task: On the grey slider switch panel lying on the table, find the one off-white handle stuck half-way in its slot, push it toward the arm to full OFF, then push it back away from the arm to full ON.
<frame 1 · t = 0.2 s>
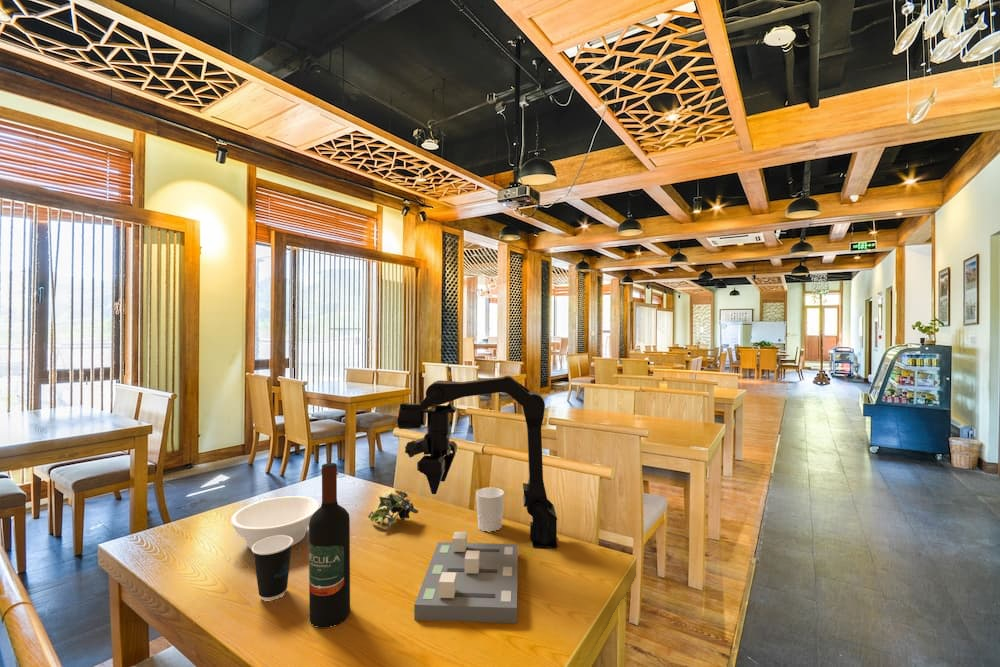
hand: (438, 487, 118), 14 cm above the table, tool pointing down, fingers open, 9 cm apart
breaker left: (447, 584, 90), point 5 cm above the table, slide at 4.0 cm
breaker right: (459, 541, 108), point 5 cm above the table, slide at 4.0 cm
green leafy clump: (393, 525, 128), on the table
grey slider switch panel: (472, 584, 99), on the table
bowl: (277, 542, 119), on the table
dixie cup: (273, 595, 95), on the table
white cup: (490, 527, 127), on the table
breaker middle: (472, 561, 99), point 5 cm above the table, slide at 0.0 cm
wine bottle: (330, 616, 88), on the table
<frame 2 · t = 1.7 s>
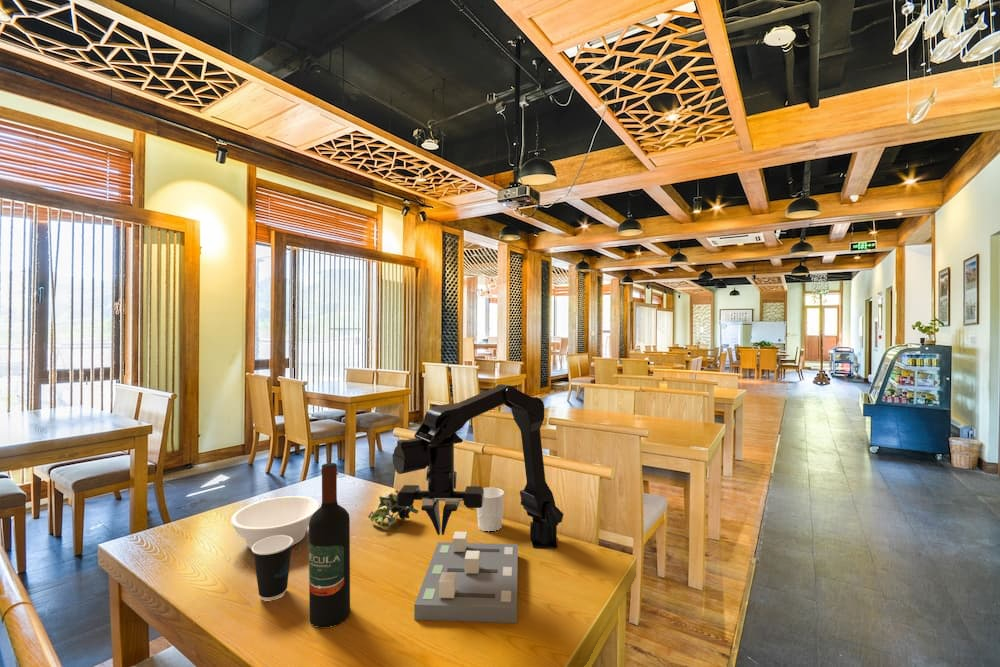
hand: (441, 534, 99), 11 cm above the table, tool pointing down, fingers closed
nothing on the table moved.
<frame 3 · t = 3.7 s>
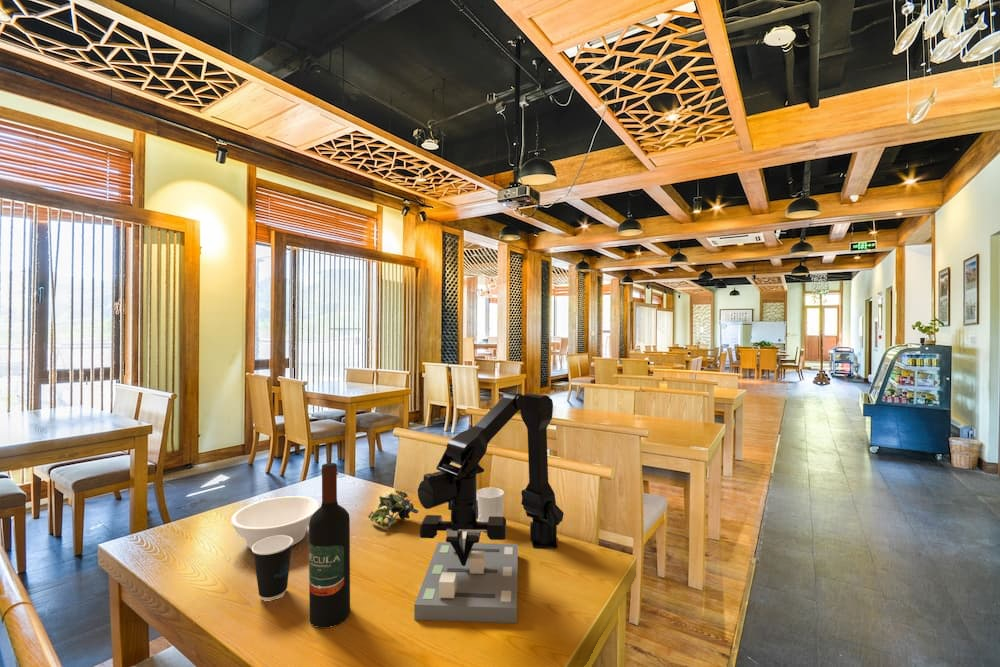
hand: (463, 564, 99), 4 cm above the table, tool pointing down, fingers closed
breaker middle: (477, 561, 99), point 5 cm above the table, slide at -1.1 cm, touching gripper
everything else where it was.
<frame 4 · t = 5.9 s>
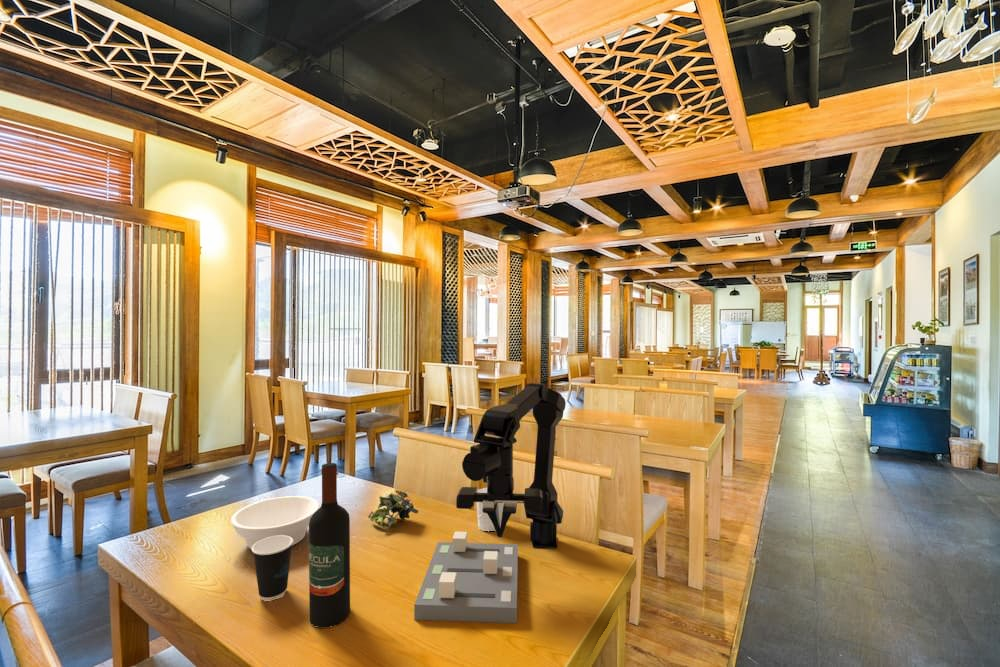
hand: (500, 536, 99), 11 cm above the table, tool pointing down, fingers closed
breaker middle: (490, 562, 99), point 5 cm above the table, slide at -4.1 cm
everything else where it was.
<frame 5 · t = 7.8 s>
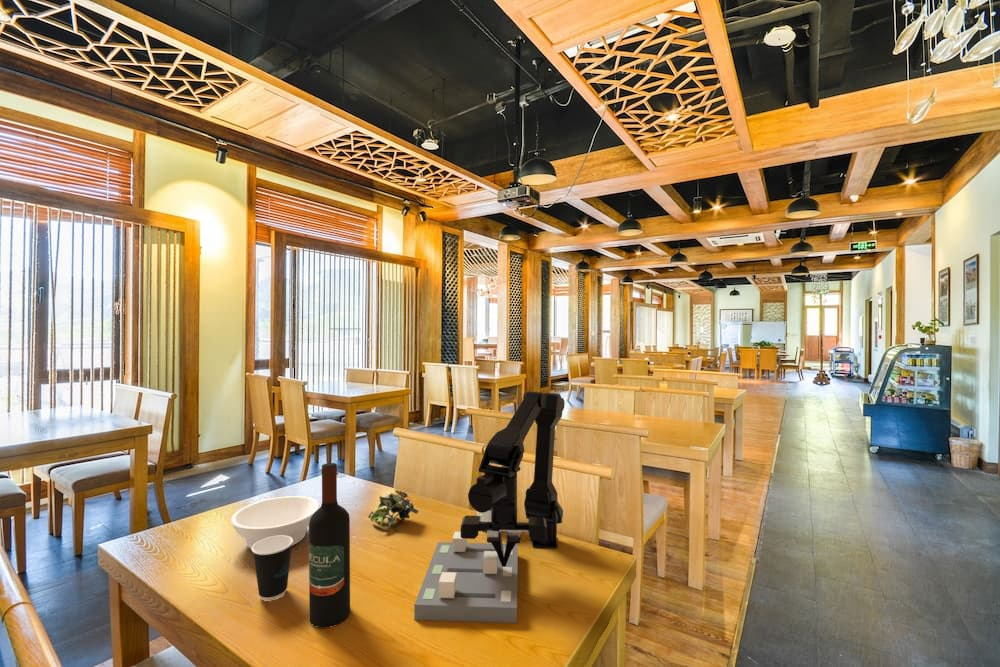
hand: (503, 565, 99), 4 cm above the table, tool pointing down, fingers closed
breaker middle: (490, 562, 99), point 5 cm above the table, slide at -4.1 cm, touching gripper
everything else where it was.
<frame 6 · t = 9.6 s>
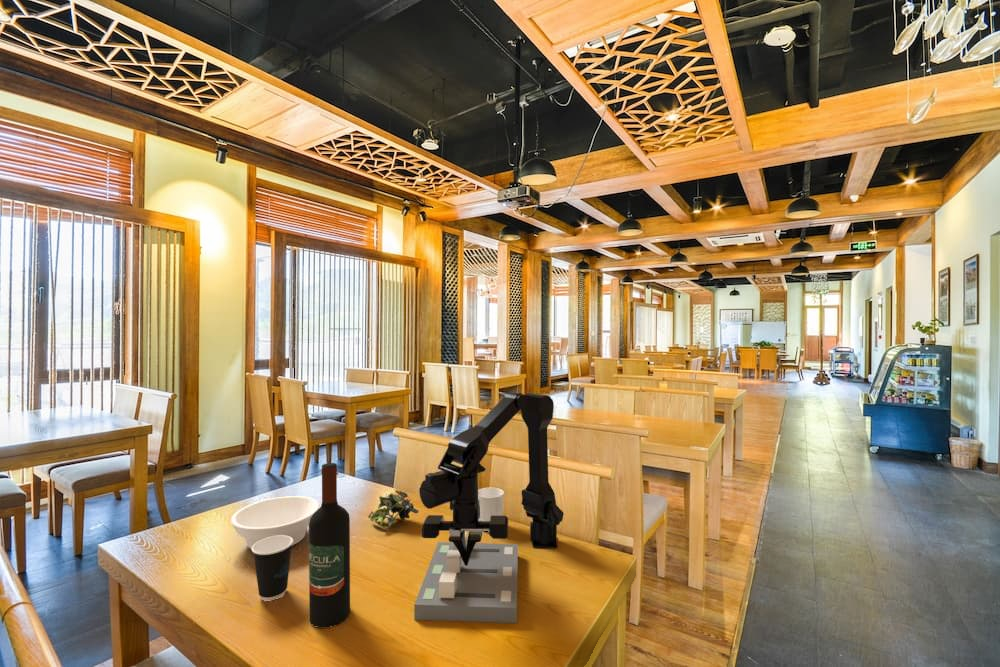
hand: (466, 564, 99), 4 cm above the table, tool pointing down, fingers closed
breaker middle: (453, 561, 99), point 5 cm above the table, slide at 4.1 cm, touching gripper
everything else where it was.
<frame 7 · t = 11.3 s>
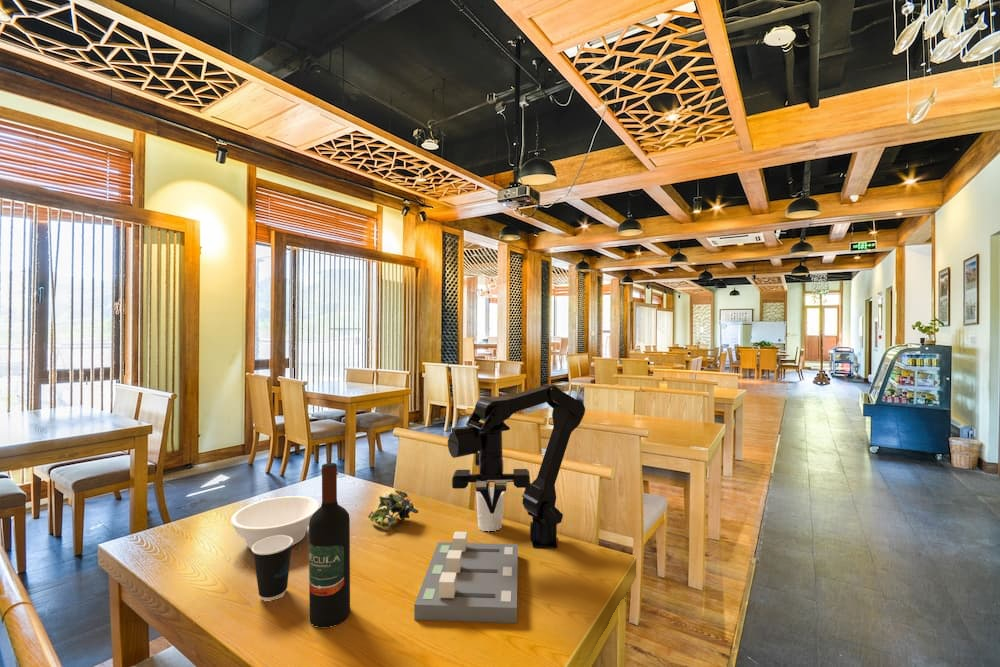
hand: (492, 512, 110), 11 cm above the table, tool pointing down, fingers closed
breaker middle: (454, 561, 99), point 5 cm above the table, slide at 4.1 cm
everything else where it was.
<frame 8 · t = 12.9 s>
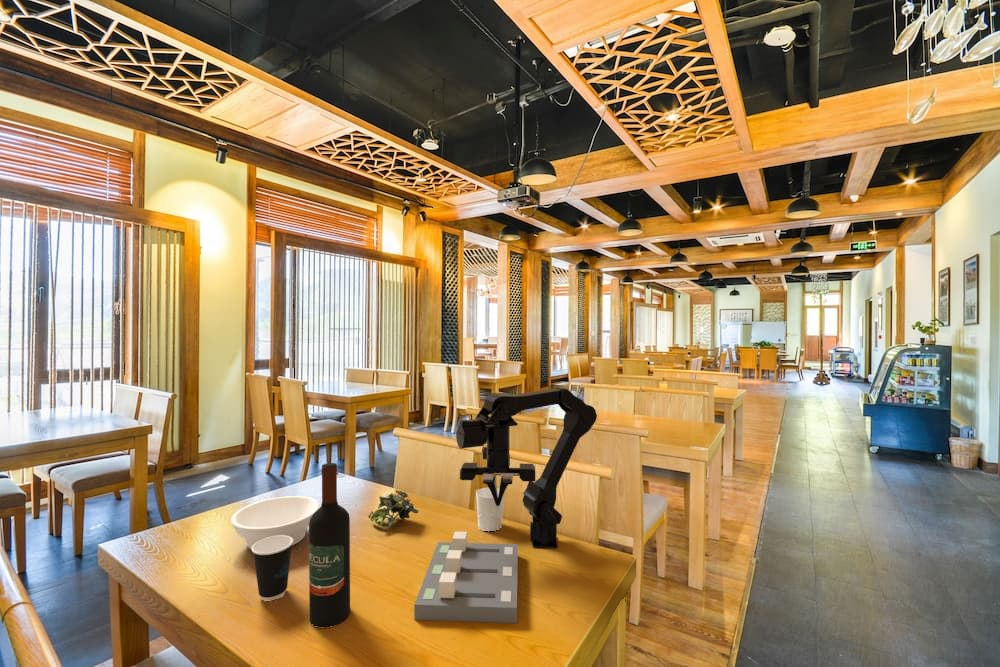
hand: (498, 505, 113), 12 cm above the table, tool pointing down, fingers closed
nothing on the table moved.
at the end: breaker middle slide at 4.1 cm; breaker left slide at 4.0 cm; breaker right slide at 4.0 cm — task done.
